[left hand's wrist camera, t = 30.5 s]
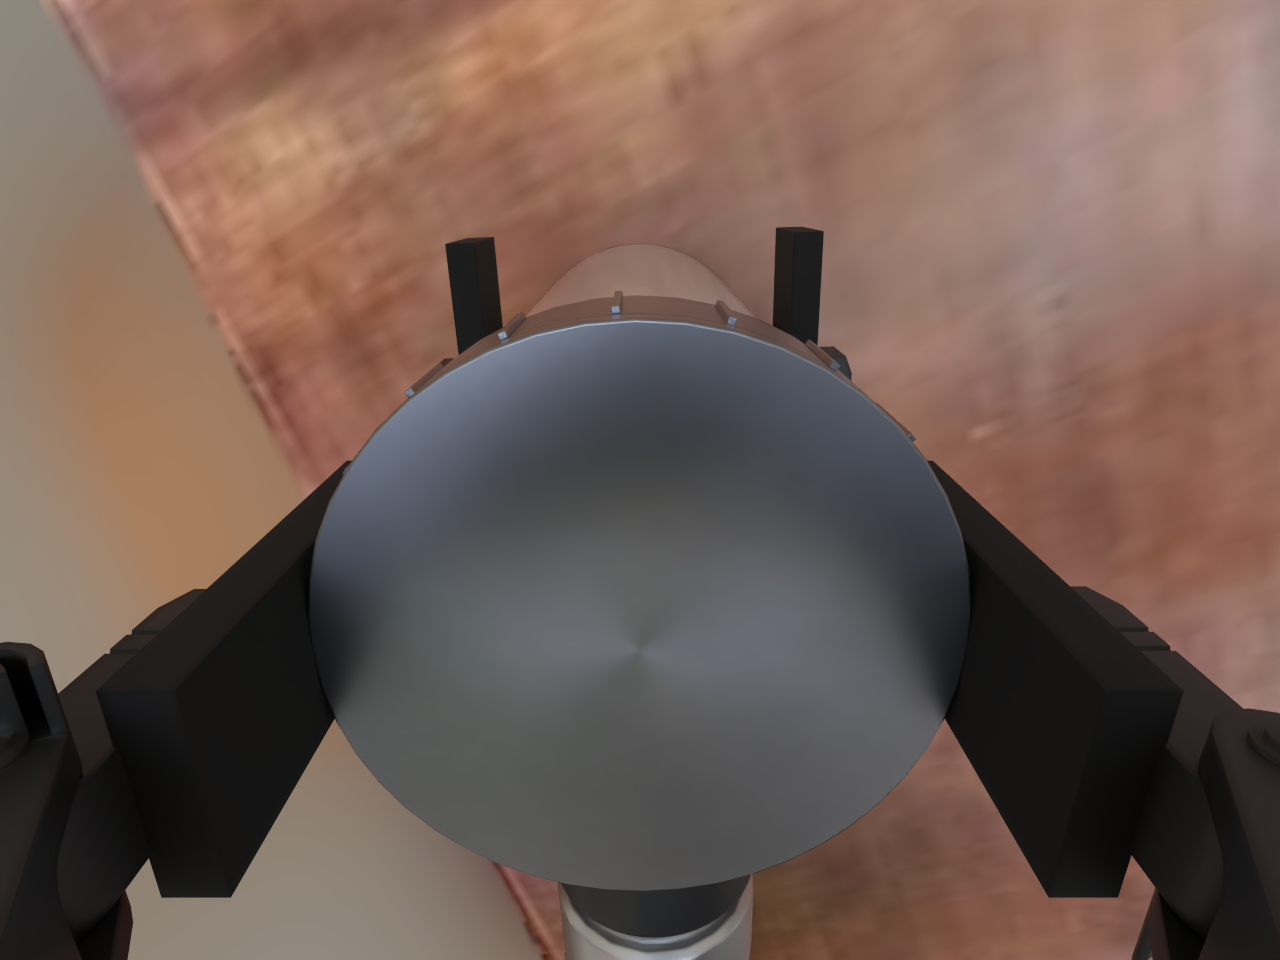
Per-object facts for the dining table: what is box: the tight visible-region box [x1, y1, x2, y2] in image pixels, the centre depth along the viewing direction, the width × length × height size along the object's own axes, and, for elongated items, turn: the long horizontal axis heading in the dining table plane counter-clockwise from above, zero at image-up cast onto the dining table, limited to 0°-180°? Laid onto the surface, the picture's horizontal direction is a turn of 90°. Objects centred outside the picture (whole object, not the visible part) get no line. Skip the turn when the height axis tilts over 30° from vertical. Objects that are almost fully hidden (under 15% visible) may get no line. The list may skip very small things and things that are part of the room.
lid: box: [308, 291, 972, 891], centre depth 11 cm, size 9×9×2 cm
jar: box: [525, 244, 756, 318], centre depth 19 cm, size 8×8×18 cm
